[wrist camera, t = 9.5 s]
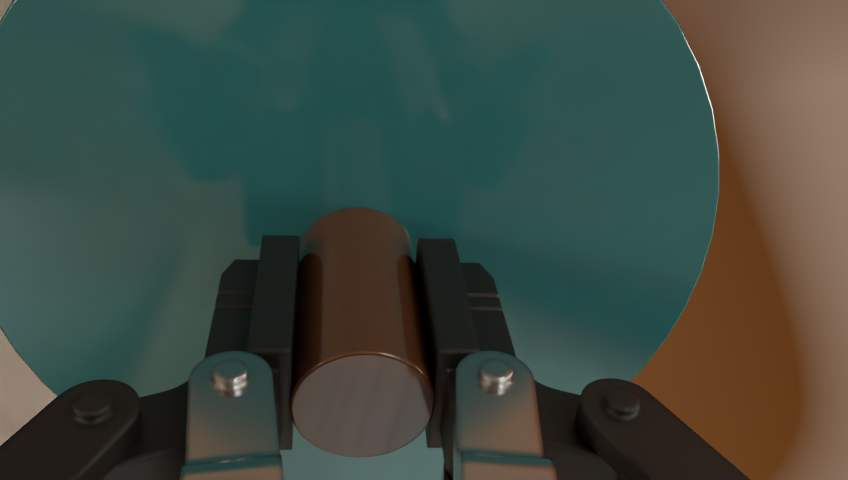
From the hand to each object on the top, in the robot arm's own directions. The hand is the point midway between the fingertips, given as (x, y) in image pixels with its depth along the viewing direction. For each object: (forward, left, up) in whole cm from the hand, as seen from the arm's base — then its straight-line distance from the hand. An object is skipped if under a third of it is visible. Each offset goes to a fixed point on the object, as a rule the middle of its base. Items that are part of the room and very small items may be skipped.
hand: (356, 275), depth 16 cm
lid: (0, 0, -1) cm, 1 cm away
